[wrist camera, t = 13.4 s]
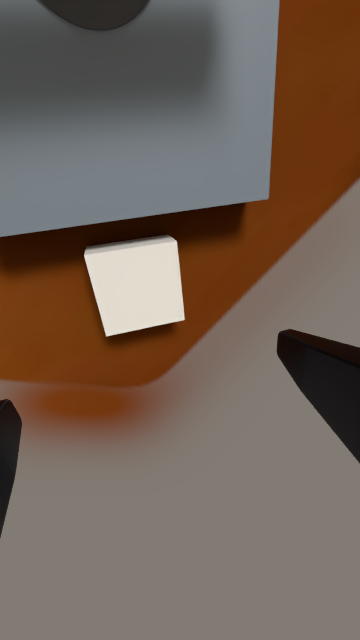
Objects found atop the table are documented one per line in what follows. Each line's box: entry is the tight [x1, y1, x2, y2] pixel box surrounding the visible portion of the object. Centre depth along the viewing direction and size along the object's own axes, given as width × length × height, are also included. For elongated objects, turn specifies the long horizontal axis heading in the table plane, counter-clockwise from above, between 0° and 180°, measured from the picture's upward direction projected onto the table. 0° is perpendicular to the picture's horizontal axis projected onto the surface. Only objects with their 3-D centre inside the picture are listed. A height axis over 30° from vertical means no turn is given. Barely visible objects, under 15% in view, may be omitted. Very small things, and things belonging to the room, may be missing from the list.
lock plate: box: [0, 0, 279, 237], centre depth 11 cm, size 15×12×3 cm
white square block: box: [84, 235, 185, 336], centre depth 16 cm, size 5×5×3 cm
